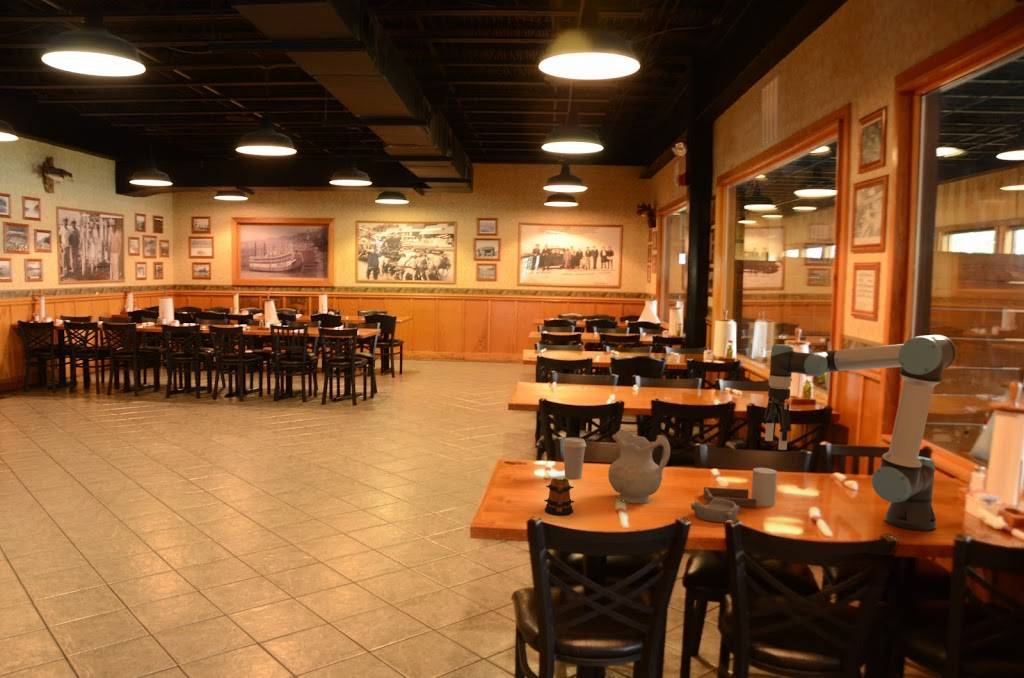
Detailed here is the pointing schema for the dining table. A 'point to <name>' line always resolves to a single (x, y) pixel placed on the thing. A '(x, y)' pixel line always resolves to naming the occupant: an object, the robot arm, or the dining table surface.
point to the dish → (716, 510)
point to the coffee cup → (573, 457)
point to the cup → (764, 486)
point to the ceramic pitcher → (637, 467)
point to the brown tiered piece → (559, 498)
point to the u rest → (729, 492)
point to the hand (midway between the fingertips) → (775, 445)
